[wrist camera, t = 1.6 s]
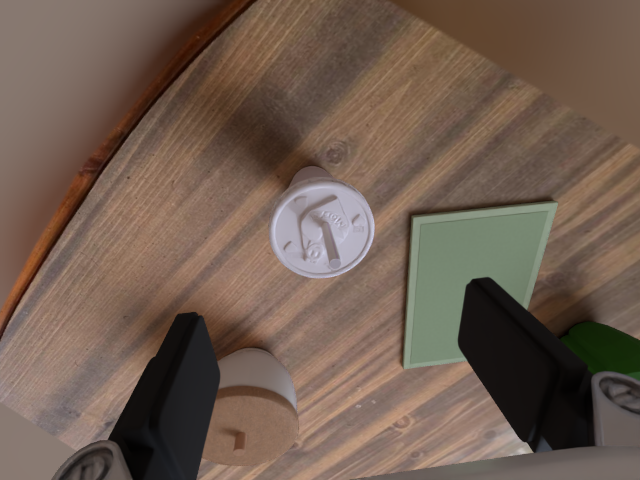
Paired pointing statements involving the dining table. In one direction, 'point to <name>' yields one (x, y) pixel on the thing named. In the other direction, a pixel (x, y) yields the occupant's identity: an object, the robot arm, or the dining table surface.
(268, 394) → the trinket box
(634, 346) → the bell pepper
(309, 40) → the dining table surface
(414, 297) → the placemat
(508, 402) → the robot arm
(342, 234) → the smoothie
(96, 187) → the dining table surface
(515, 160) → the dining table surface
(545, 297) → the dining table surface
